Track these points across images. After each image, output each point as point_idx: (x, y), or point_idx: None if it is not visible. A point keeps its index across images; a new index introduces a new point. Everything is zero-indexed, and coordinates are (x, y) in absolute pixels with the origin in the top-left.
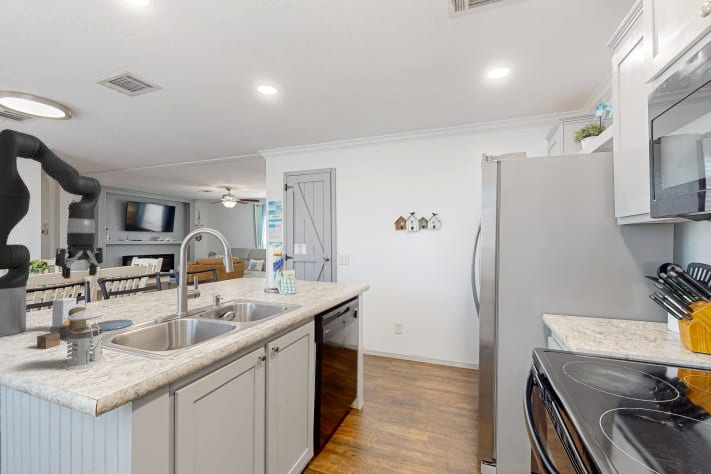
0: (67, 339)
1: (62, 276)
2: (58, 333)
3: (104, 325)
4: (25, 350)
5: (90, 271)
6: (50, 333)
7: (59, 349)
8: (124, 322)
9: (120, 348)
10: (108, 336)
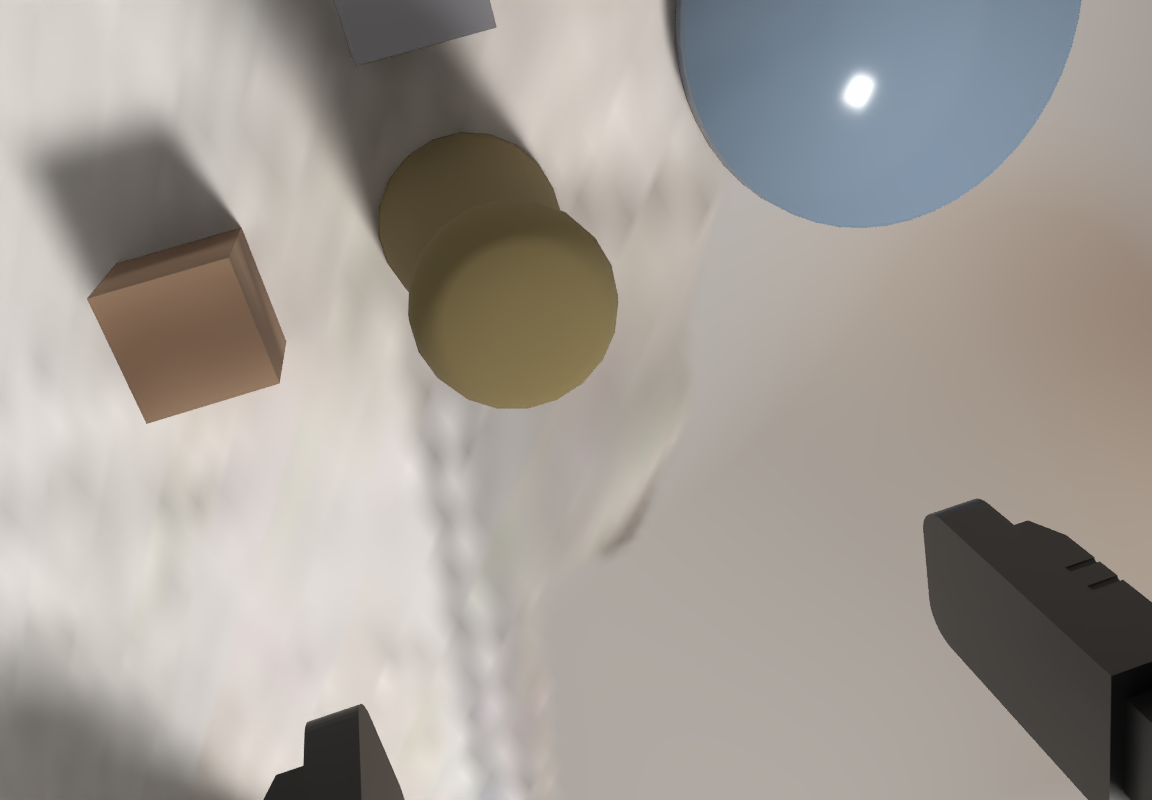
0: (380, 236)
1: (273, 785)
2: (268, 370)
3: (817, 18)
4: (21, 267)
5: (990, 599)
6: (212, 300)
7: (242, 486)
8: (984, 78)
9: (529, 794)
10: (648, 406)
